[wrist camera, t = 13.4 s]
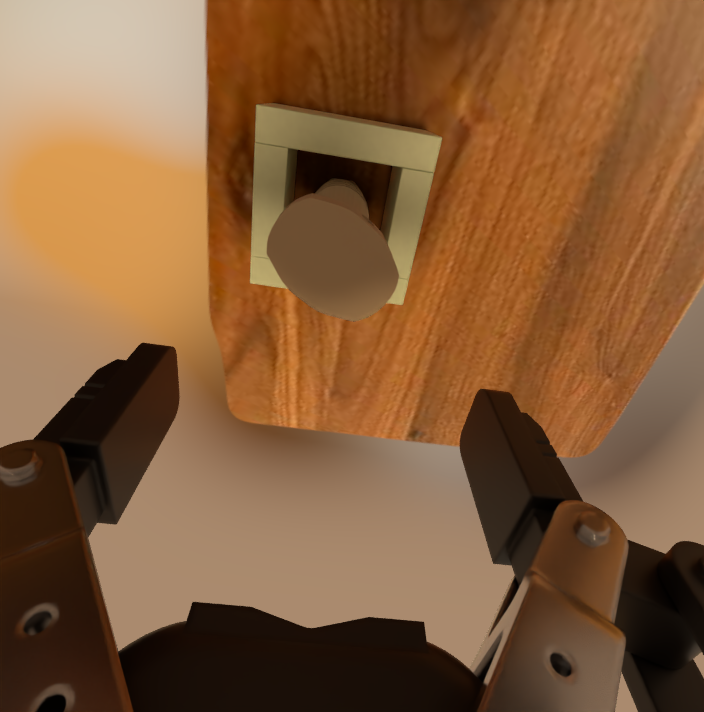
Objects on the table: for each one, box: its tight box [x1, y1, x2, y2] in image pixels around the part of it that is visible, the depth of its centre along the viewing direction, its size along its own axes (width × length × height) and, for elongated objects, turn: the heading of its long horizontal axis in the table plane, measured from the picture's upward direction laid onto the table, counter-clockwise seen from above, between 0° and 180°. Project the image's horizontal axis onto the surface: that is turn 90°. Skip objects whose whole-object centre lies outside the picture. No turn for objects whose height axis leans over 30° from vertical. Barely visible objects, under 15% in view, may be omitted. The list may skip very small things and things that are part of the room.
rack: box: [250, 103, 442, 305], centre depth 30 cm, size 11×11×6 cm
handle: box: [267, 178, 399, 322], centre depth 26 cm, size 5×6×15 cm
